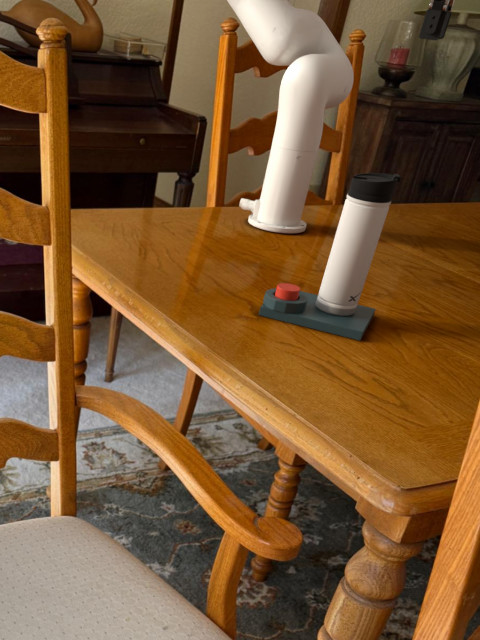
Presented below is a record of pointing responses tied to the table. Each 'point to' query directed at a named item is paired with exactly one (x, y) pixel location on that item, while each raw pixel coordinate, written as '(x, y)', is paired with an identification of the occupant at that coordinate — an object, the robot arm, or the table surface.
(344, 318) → the grey kitchen scale
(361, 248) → the travel mug
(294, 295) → the button
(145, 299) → the table surface
